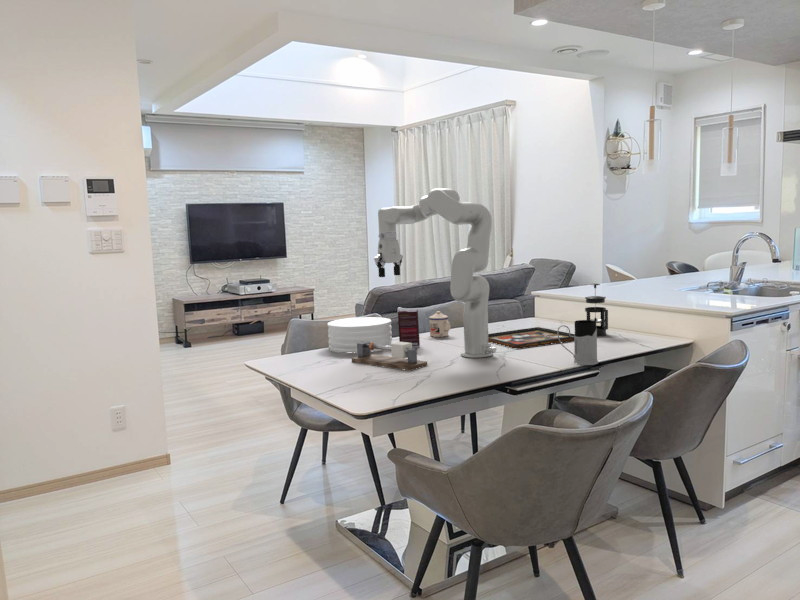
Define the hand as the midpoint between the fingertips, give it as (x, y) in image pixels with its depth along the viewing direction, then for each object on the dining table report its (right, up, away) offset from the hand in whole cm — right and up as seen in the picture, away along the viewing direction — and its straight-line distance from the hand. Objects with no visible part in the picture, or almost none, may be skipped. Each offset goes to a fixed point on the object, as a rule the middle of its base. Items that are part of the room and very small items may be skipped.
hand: (389, 276), depth 276 cm
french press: (+93, -26, +9) cm, 97 cm away
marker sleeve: (+5, -32, -39) cm, 51 cm away
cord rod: (0, -33, -34) cm, 47 cm away
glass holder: (+69, -33, -46) cm, 90 cm away
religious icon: (+61, -29, +5) cm, 68 cm away
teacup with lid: (+24, -28, +23) cm, 43 cm away
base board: (0, -35, -34) cm, 49 cm away
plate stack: (-13, -32, +4) cm, 34 cm away
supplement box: (+9, -31, -2) cm, 32 cm away
